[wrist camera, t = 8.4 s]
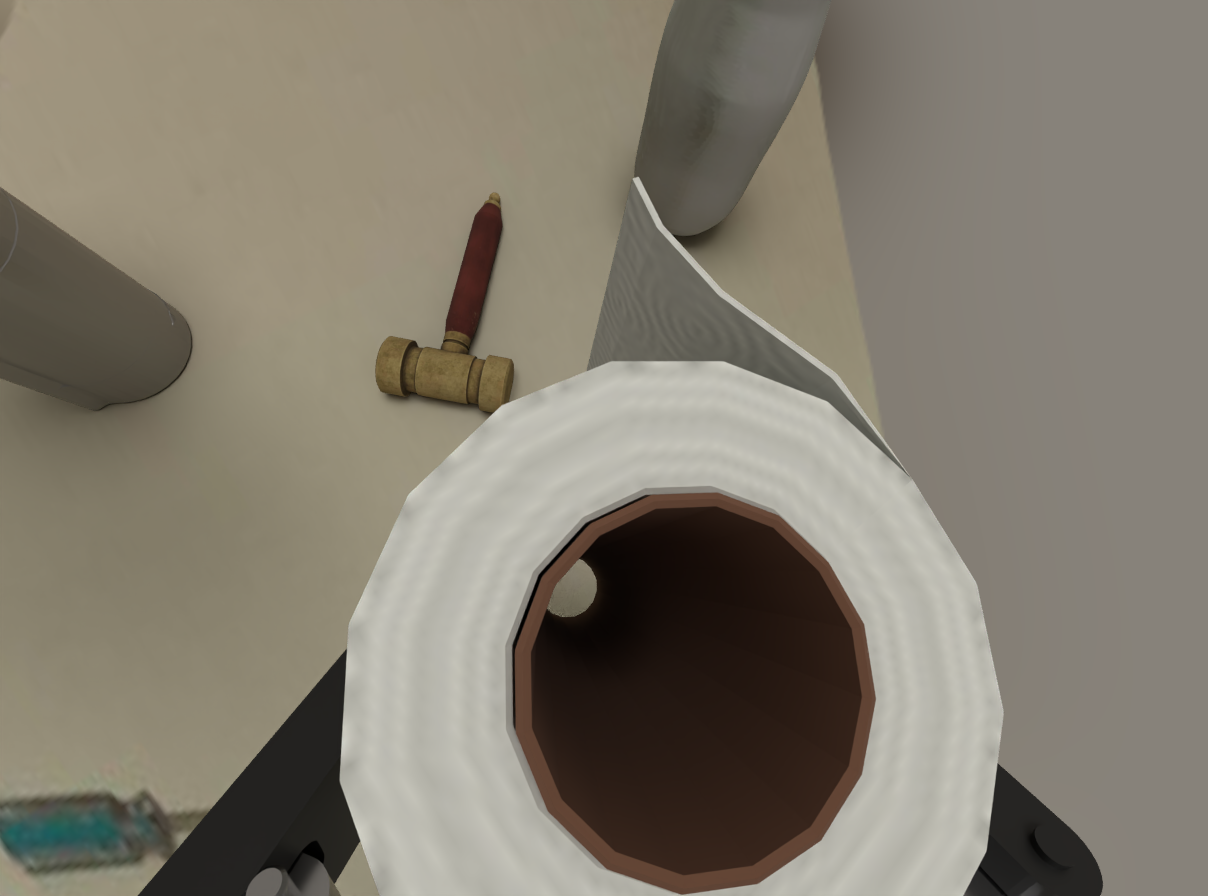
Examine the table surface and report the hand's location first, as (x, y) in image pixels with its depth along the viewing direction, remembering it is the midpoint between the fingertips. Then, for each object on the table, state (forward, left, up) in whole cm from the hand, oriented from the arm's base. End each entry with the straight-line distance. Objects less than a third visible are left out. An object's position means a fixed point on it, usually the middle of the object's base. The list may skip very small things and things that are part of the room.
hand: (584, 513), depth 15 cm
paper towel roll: (-1, -2, -11) cm, 11 cm away
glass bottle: (+30, +17, -27) cm, 44 cm away
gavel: (+9, +21, -28) cm, 36 cm away
